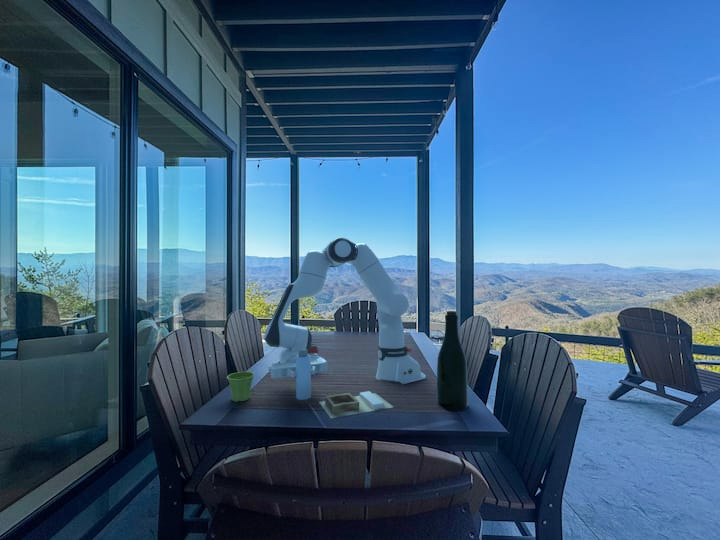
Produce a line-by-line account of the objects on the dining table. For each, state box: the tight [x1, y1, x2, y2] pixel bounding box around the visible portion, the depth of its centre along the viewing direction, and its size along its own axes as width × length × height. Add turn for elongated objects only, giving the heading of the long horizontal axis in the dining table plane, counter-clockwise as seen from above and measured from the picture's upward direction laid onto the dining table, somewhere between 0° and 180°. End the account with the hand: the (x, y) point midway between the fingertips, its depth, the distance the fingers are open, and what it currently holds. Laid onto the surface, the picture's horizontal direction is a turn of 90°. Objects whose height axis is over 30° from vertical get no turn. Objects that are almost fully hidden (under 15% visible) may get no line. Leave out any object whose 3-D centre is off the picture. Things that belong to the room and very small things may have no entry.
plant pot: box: [226, 371, 255, 403], centre depth 118 cm, size 9×9×9 cm
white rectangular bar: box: [359, 390, 384, 409], centre depth 112 cm, size 4×12×2 cm, turn 23°
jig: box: [318, 392, 394, 419], centre depth 109 cm, size 22×14×4 cm, turn 113°
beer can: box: [308, 343, 319, 355], centre depth 155 cm, size 7×7×12 cm
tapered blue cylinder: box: [295, 349, 312, 401], centre depth 110 cm, size 5×5×16 cm
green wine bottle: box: [436, 310, 469, 412], centre depth 112 cm, size 10×10×33 cm
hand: (303, 374), depth 109 cm, fingers closed on tapered blue cylinder, 5 cm apart
